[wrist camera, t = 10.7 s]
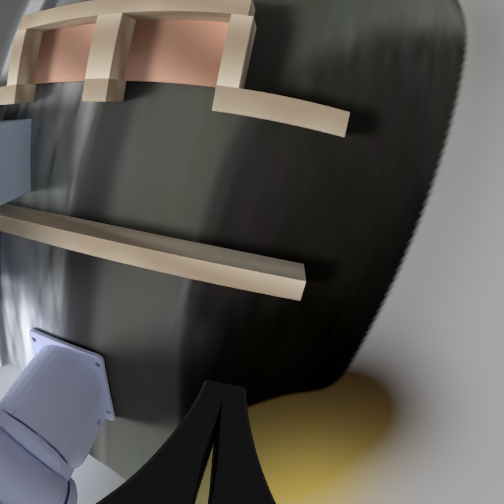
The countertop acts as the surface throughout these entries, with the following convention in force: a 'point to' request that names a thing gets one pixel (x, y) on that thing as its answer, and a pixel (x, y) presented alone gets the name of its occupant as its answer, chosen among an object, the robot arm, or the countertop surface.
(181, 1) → the beige flat frame
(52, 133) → the countertop surface
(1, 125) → the block
